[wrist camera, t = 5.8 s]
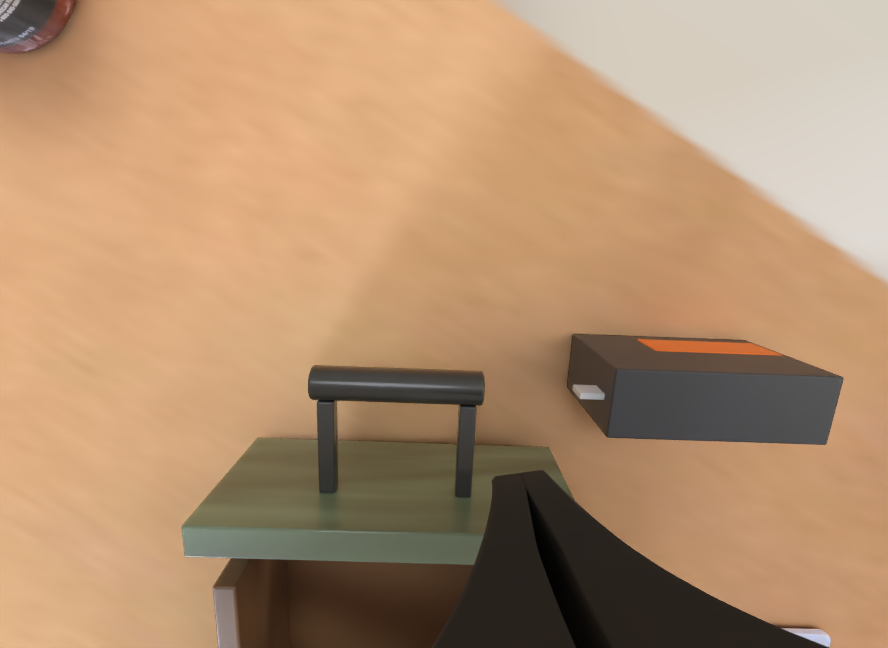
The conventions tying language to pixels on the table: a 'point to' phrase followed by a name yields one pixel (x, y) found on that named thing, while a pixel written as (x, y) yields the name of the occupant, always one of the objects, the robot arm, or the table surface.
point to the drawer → (354, 521)
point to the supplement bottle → (31, 23)
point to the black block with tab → (700, 390)
